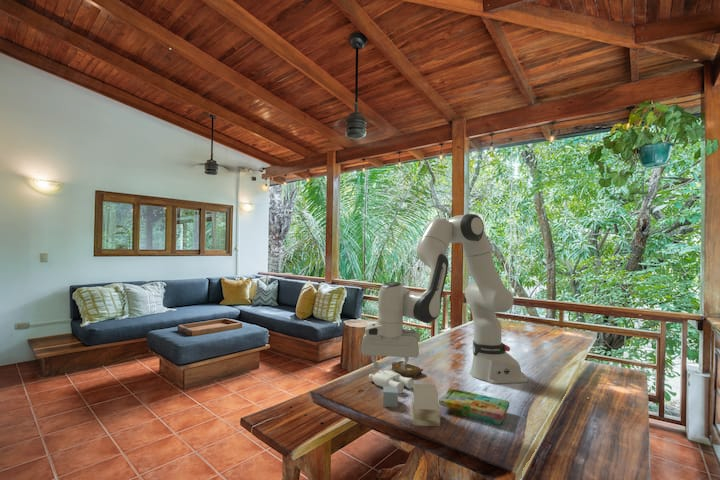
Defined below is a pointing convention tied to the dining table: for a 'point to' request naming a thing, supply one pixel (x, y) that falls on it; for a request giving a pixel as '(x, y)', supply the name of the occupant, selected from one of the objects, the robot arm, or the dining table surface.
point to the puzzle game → (475, 405)
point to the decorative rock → (407, 370)
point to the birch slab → (425, 416)
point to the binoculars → (391, 380)
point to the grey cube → (390, 396)
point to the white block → (425, 396)
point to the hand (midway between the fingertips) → (389, 368)
